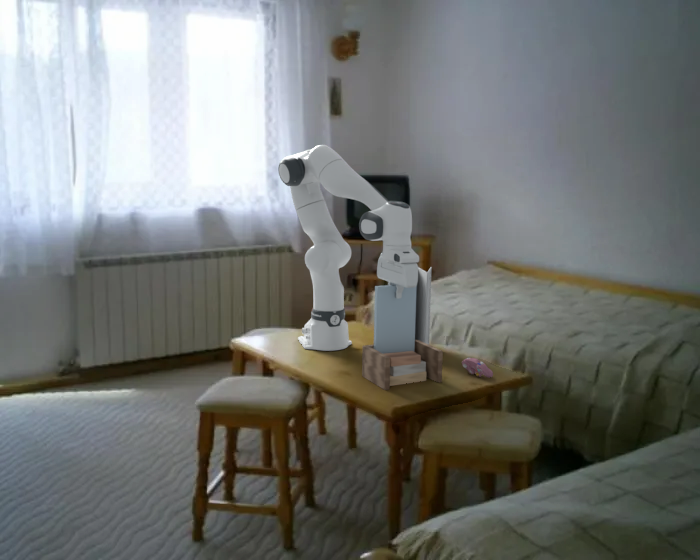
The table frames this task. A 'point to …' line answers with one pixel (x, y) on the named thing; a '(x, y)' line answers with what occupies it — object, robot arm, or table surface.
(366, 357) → the rack
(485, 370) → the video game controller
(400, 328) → the sheet
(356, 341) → the table surface
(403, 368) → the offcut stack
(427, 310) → the brochure
